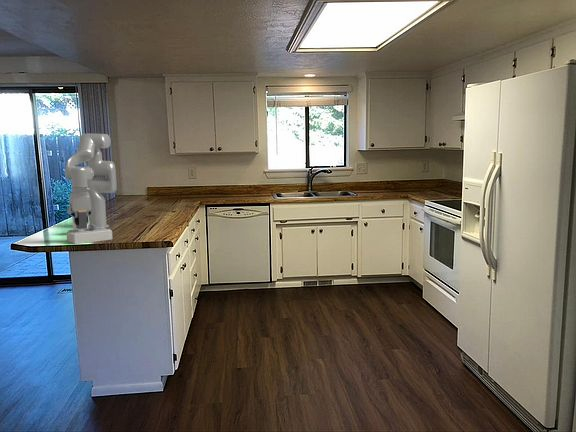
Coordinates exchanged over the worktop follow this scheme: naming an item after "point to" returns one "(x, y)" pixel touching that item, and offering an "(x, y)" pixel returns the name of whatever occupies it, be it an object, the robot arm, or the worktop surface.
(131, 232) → the worktop surface
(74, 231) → the socket block
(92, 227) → the shutter
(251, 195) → the worktop surface
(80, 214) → the plug
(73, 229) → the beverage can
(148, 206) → the worktop surface
